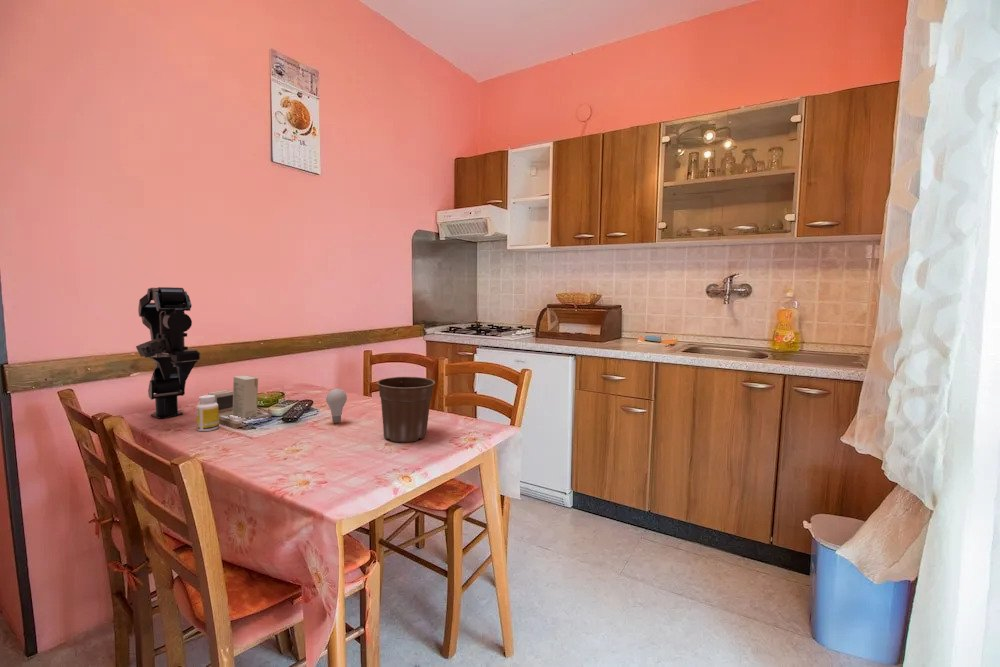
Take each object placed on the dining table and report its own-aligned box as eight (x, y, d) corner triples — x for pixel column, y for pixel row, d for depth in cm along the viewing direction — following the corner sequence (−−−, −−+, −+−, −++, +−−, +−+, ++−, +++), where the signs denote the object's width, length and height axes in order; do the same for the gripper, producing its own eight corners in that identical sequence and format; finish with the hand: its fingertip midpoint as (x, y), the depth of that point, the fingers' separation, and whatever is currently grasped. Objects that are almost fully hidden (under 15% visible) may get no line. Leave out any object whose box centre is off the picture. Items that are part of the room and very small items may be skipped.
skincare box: (257, 416, 139) (259, 378, 138) (243, 419, 135) (246, 379, 134) (244, 412, 142) (246, 374, 141) (231, 414, 138) (233, 376, 137)
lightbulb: (338, 427, 136) (338, 391, 135) (321, 424, 138) (321, 389, 137) (351, 421, 142) (350, 387, 141) (335, 419, 144) (334, 385, 143)
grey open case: (196, 416, 143) (195, 393, 142) (231, 409, 152) (231, 387, 152) (236, 429, 131) (235, 404, 131) (271, 420, 141) (271, 397, 140)
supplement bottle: (223, 426, 133) (222, 394, 132) (209, 432, 128) (208, 398, 127) (206, 425, 134) (205, 393, 133) (192, 431, 129) (191, 397, 128)
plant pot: (429, 426, 140) (429, 375, 138) (439, 443, 124) (439, 386, 123) (375, 429, 134) (375, 377, 133) (378, 448, 119) (378, 388, 118)
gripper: (124, 329, 130) (127, 382, 131) (156, 334, 120) (158, 390, 122) (168, 327, 139) (170, 376, 141) (200, 331, 130) (202, 384, 132)
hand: (174, 381), depth 134 cm, fingers open, 9 cm apart
